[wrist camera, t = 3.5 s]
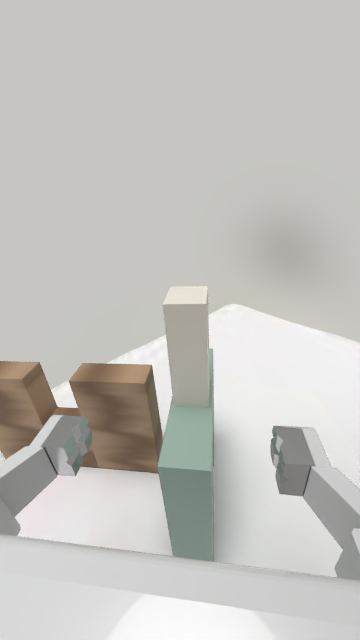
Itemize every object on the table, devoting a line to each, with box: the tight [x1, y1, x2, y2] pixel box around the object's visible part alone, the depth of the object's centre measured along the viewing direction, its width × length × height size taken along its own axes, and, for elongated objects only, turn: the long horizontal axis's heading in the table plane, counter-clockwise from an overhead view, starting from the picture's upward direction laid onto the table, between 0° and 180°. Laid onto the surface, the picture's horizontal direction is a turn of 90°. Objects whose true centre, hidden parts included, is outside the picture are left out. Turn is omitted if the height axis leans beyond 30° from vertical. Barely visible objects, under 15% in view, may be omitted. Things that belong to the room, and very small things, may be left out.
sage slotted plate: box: [158, 286, 214, 561], centre depth 20 cm, size 3×12×20 cm, turn 173°
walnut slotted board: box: [0, 361, 163, 473], centre depth 25 cm, size 18×2×12 cm, turn 83°
